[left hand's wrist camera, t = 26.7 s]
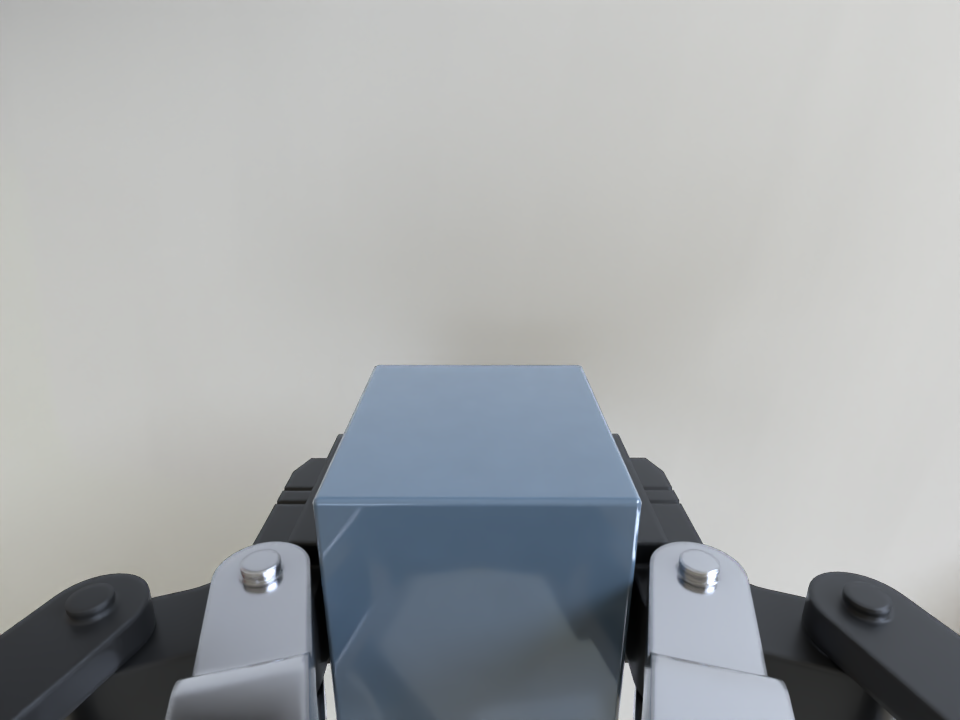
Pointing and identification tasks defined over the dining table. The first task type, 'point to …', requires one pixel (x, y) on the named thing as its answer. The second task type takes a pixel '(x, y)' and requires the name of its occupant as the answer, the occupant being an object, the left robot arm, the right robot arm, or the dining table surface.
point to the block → (477, 548)
